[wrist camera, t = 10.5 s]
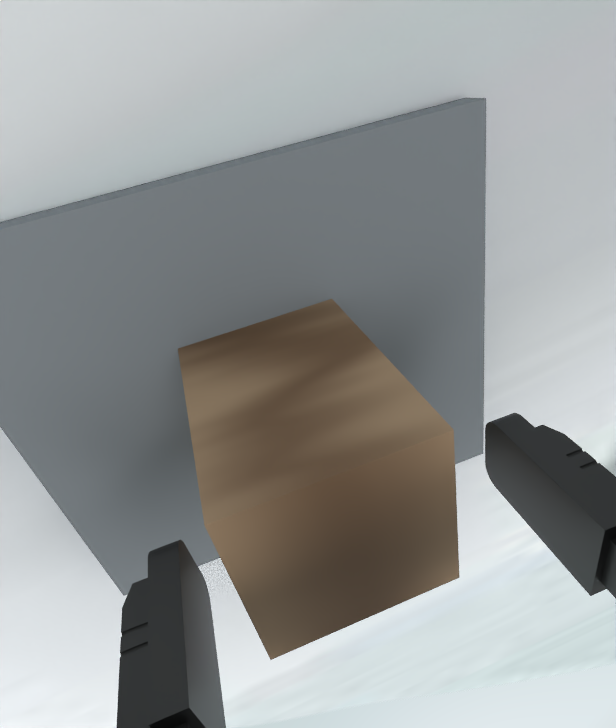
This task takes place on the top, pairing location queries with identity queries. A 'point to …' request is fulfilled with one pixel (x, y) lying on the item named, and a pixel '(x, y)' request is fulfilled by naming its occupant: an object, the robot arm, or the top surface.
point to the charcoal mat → (233, 307)
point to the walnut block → (318, 474)
